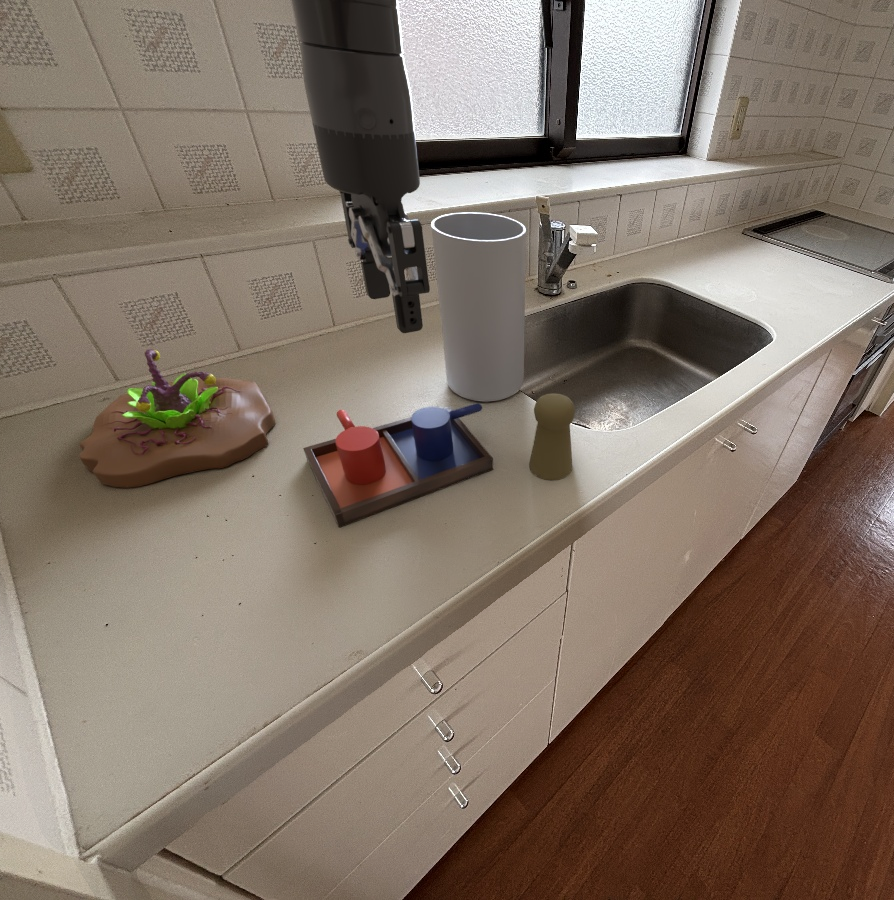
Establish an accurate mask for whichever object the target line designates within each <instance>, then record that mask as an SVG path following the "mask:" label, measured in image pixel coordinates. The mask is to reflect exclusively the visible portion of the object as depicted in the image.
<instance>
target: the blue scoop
mask: <svg viewBox="0 0 894 900" xmlns="http://www.w3.org/2000/svg"><path fill="white" fill-rule="evenodd" d="M443 408H444V407H439V406H425V407H422V408H419V409H417V410H416V411H414V412H413V413H412V415H411V416H410V417H411V422H412V428H413V434H414V440H415V446H416V452H417V455H418V456H419V457H420V458H422V459H424V460H427V461H438V460H442V459H445V458H447V457H448V456H449V455H450V454H451V453H452V451H453V441H452V431H451V421H450V420H454V419H457V418H459V419H461V418H463V417H468V416H470V415H473V414H477V413H480V412H482V410H483V405H482V404H481V403H477V402H475V403H474V404H470V405H467V406H463V407H459V408H456V409H452V411H449V412H448V411H446V410H445V409H443Z"/></svg>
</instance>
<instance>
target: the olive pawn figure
mask: <svg viewBox="0 0 894 900" xmlns="http://www.w3.org/2000/svg"><path fill="white" fill-rule="evenodd" d="M575 413H576V408H575V405H574V402H573V401H572V399H570V398H569V397H568V396H566V395H564V394H561V393H551V392H550V393H546V394H543V395H541V396H540V397H539V398H538V399H537V400H536V401H535V404H534V407H533V414H534V419H535V421H536V422H537V423H536V429H535V434H534V439H533V444H532V448H531V453H530V457H529V463H528V466H529V470H530V472H531V473H532V474H533V475H534V476H536V477H537V478H539V479H542V480H546V481H559V480H562V479H565V478H566V477H567V476H569V475H570V474H571V472H572V471H573V453H572V438H571V424H572V423H573V421H574V418H575Z"/></svg>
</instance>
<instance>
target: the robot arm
mask: <svg viewBox="0 0 894 900" xmlns="http://www.w3.org/2000/svg"><path fill="white" fill-rule="evenodd" d="M290 4H291V9H292V14H293V18H294V19H293V20H294V23H295V24H294V25H295V29H296V34H297V37H298V41H299V48H300V55H301V67H302V68H301V69H302V76H303V83H304V90H305V95H306V99H307V104H308V108H309V114H310V118H311V122H312V123H311V124H312V127H313V133H314V136H315V142H316V146H317V152H318V156H319V161H320V166H321V170H322V174H323V179H324V181H325V183H326V184H327V185H328V186H329V187H331V188H332V189H334V190H336V191H339V194H340V199H341V204H342V210H343V215H344V221H345V226H346V232H347V241H348V245H350V247H351V249H355V250H354V254H355V256H356V257H357V259H358V261H360V265H361V271H362V277H363V283H364V286H365V292H366V295H367V296H368V298H369V299H371V300H379V299H385V298H389V297H390V296H392V303H393V308H394V309H393V310H394V316H395V323H396V328H397V330H398V331H399V332H400V333H401V334H408V333H414V332H415V333H416V332H419V331H421V330H422V329H423V327H424V325H423V324H424V323H423V315H422V307H421V300H420V298H421V297H420V295H421V294H429V293H430V290H431V287H430V280H429V272H428V264H427V257H426V248H425V241H424V234H423V226H422V223H421V221H420V220H419V219H409V217H408V214H407V213H406V212H405V209H404V204H403V202H402V201H403V200H402V198H403V197H404V196H406V195H407V194H411V193H414V192H415V191H417V190H418V189H419V188H420V185H421V178H420V168H419V159H418V149H417V140H416V130H415V120H414V110H413V101H412V93H411V92H412V91H411V87H410V86H411V85H410V82H409V81H410V80H409V78H408V72H407V68H406V64H405V57H404V55H403V54H404V47H403V38H402V37H403V36H402V27H401V19H400V10H399V1H398V0H290ZM405 270H406V271H407V274H408V277H409V279H406V274H405Z"/></svg>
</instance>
